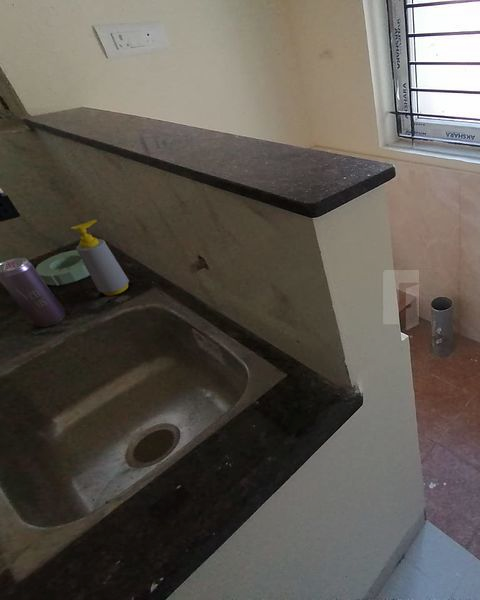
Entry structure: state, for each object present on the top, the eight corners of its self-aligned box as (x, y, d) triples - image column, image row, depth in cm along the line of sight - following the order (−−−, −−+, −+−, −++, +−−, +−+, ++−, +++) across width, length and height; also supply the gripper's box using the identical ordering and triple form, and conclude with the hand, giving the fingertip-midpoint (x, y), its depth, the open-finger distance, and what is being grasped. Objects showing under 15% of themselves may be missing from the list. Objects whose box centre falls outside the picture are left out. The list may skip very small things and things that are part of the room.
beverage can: (64, 308, 93) (26, 254, 83) (69, 319, 89) (30, 264, 80) (33, 319, 89) (-10, 264, 80) (37, 331, 86) (-7, 275, 77)
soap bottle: (136, 286, 99) (102, 223, 88) (107, 300, 95) (67, 235, 84) (124, 278, 102) (89, 215, 91) (95, 291, 98) (55, 227, 87)
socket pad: (52, 291, 98) (45, 281, 97) (34, 274, 105) (27, 265, 103) (108, 268, 107) (103, 258, 105) (88, 254, 113) (83, 245, 111)
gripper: (-102, 110, 65) (-32, 206, 75) (-90, 125, 56) (-13, 232, 66) (-42, 102, 69) (16, 194, 80) (-22, 116, 60) (40, 217, 71)
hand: (3, 211), depth 73 cm, fingers open, 9 cm apart
